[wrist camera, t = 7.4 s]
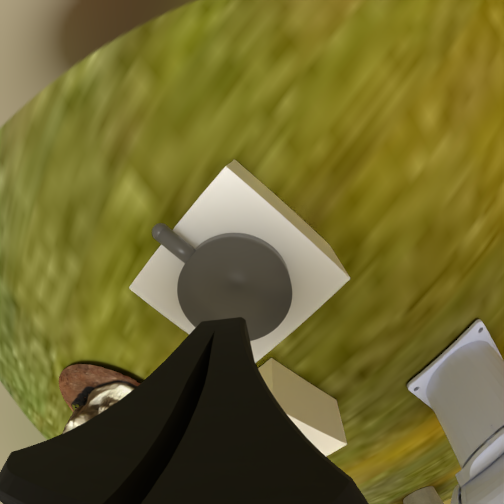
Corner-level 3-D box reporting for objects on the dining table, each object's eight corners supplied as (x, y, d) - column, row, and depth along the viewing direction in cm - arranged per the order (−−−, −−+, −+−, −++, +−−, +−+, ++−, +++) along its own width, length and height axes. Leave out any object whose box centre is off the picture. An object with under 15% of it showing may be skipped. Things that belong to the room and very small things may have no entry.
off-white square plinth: (336, 399, 22) (347, 444, 17) (273, 439, 23) (275, 481, 19) (271, 357, 20) (273, 406, 16) (208, 405, 22) (201, 451, 18)
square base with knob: (329, 244, 17) (350, 278, 13) (247, 323, 19) (244, 371, 15) (234, 159, 16) (225, 166, 12) (156, 253, 18) (128, 287, 13)
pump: (301, 252, 16) (316, 291, 12) (244, 308, 18) (240, 359, 13) (207, 170, 15) (187, 182, 11) (154, 236, 16) (121, 270, 12)
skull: (73, 332, 19) (118, 471, 13) (172, 344, 27) (223, 444, 22) (32, 395, 22) (62, 495, 16) (113, 398, 30) (148, 479, 24)
